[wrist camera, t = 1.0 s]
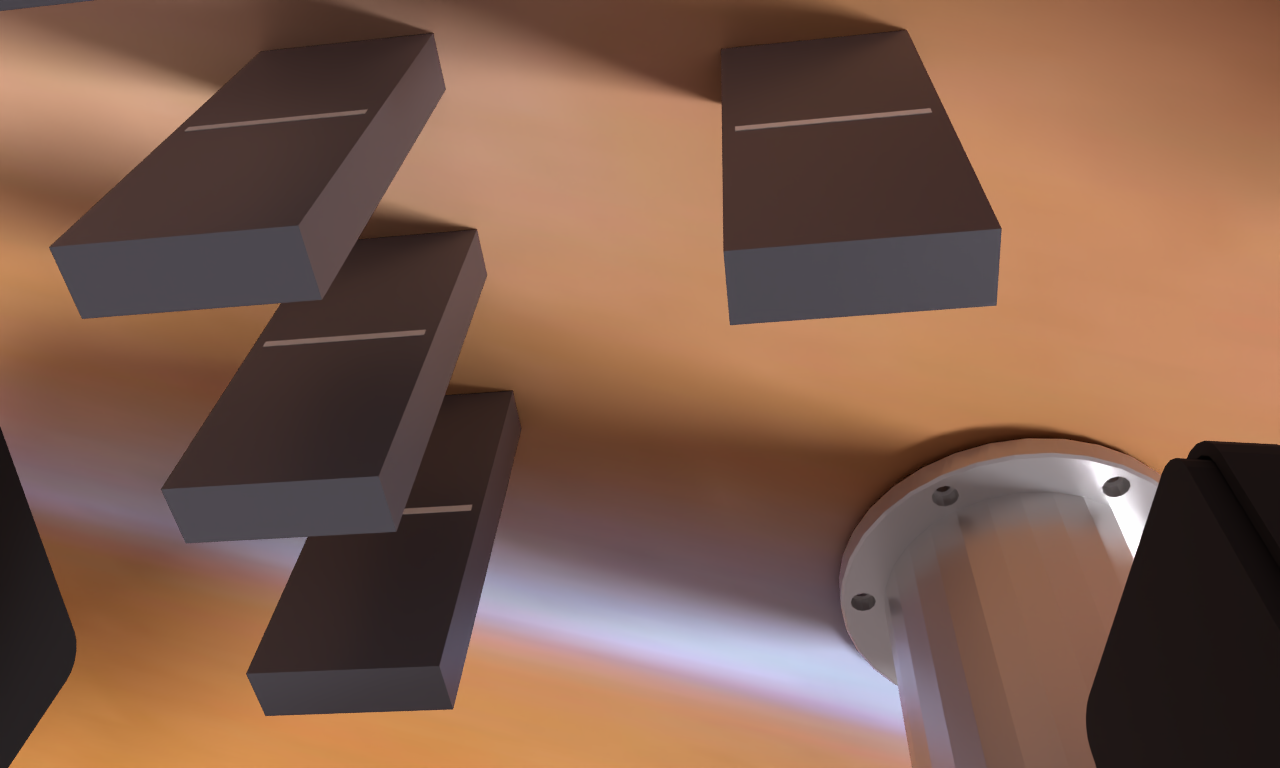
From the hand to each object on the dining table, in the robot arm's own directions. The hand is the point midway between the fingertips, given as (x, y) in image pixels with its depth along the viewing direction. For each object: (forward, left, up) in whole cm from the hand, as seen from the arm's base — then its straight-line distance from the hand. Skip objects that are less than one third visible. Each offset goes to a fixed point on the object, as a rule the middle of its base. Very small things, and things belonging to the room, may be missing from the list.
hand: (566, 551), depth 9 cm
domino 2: (-3, +12, -24) cm, 27 cm away
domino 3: (-8, +15, -24) cm, 29 cm away
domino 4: (-5, -1, -24) cm, 24 cm away
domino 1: (+2, +9, -24) cm, 26 cm away
